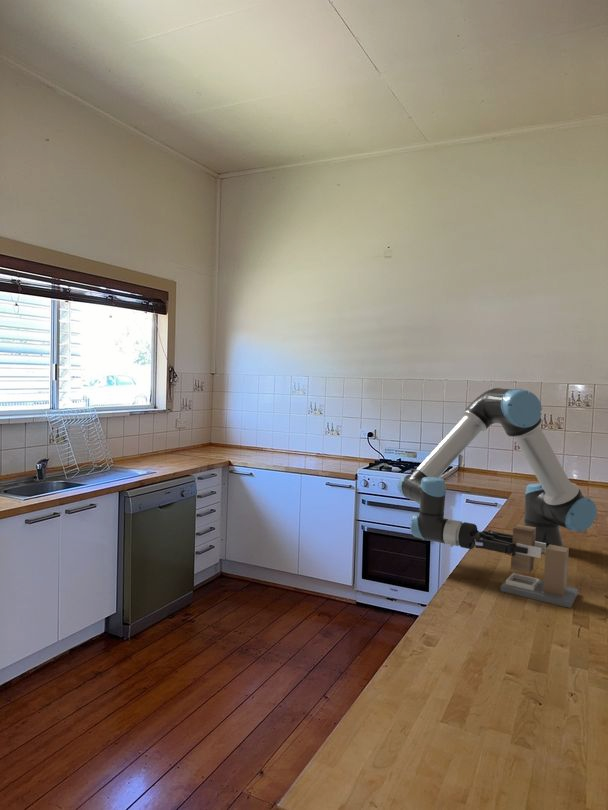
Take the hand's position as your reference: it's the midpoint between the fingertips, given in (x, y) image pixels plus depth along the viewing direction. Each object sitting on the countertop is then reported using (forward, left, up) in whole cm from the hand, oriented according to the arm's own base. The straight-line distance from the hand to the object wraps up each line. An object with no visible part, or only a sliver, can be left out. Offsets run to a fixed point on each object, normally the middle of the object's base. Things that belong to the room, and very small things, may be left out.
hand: (543, 550), depth 156 cm
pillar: (+1, -5, -6) cm, 8 cm away
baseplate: (0, -1, -12) cm, 12 cm away
